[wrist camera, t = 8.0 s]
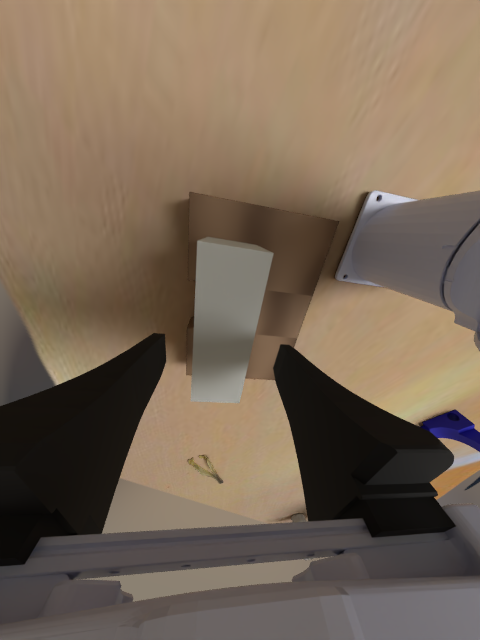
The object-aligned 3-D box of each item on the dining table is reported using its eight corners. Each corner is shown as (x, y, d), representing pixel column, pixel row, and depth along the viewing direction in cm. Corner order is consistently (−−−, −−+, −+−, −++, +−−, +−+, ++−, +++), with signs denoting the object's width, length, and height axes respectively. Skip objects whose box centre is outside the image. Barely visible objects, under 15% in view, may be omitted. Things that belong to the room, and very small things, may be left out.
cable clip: (454, 408, 33) (498, 443, 28) (455, 420, 35) (496, 454, 30) (391, 433, 35) (420, 469, 30) (395, 442, 37) (423, 477, 32)
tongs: (218, 479, 40) (217, 491, 39) (187, 452, 35) (185, 464, 33) (234, 474, 40) (234, 486, 38) (205, 446, 34) (204, 457, 33)
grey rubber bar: (256, 244, 15) (273, 253, 9) (235, 356, 20) (239, 403, 15) (208, 236, 14) (197, 240, 9) (200, 354, 19) (190, 401, 14)
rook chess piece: (299, 511, 52) (310, 556, 45) (307, 514, 54) (319, 557, 47) (287, 516, 54) (297, 560, 46) (296, 519, 55) (306, 561, 48)
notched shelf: (323, 222, 16) (339, 221, 14) (276, 366, 24) (282, 380, 22) (194, 197, 15) (189, 191, 13) (190, 360, 23) (186, 374, 21)
